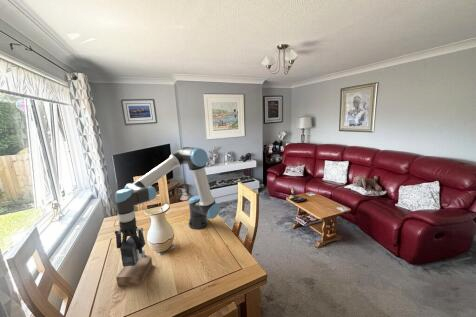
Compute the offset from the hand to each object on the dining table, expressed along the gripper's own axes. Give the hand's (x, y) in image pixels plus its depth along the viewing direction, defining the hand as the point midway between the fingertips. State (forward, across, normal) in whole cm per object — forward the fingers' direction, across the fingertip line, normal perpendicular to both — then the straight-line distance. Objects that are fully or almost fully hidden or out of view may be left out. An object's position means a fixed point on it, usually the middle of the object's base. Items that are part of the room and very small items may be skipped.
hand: (133, 258), depth 106 cm
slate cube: (+10, +4, -13) cm, 17 cm away
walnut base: (+10, 0, 0) cm, 10 cm away
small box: (+1, 0, 0) cm, 1 cm away
